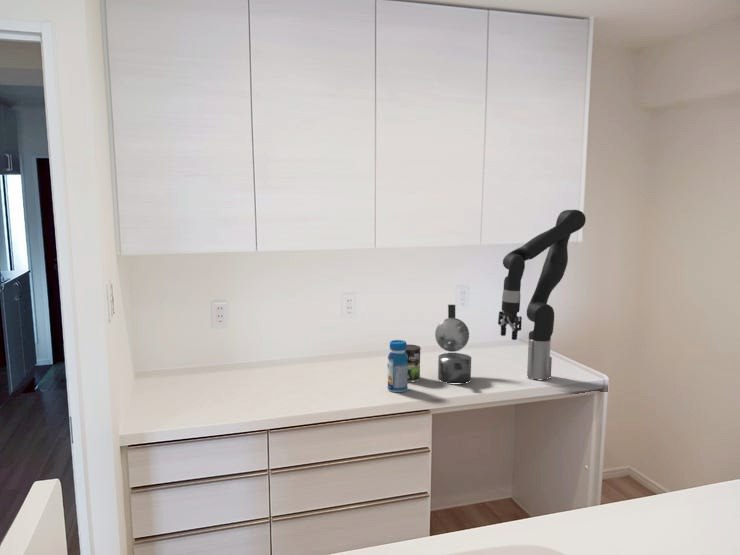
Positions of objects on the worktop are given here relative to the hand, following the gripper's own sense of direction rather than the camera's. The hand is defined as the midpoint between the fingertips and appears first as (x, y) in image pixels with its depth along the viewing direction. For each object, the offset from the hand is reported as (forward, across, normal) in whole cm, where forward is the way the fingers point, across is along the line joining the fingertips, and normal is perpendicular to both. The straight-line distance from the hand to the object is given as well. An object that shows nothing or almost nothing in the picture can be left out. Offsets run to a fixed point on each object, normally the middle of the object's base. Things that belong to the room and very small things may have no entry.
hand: (508, 337), depth 245 cm
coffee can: (+20, +14, +40) cm, 47 cm away
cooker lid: (-2, +15, +19) cm, 25 cm away
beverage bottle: (+20, +1, +50) cm, 54 cm away
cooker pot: (+19, +4, +22) cm, 30 cm away
